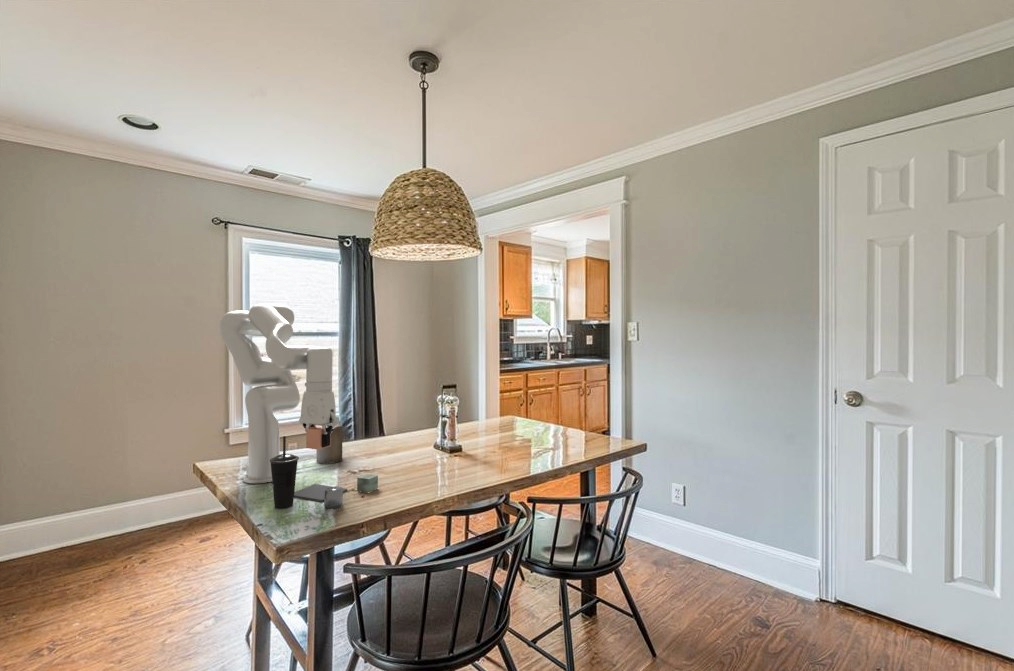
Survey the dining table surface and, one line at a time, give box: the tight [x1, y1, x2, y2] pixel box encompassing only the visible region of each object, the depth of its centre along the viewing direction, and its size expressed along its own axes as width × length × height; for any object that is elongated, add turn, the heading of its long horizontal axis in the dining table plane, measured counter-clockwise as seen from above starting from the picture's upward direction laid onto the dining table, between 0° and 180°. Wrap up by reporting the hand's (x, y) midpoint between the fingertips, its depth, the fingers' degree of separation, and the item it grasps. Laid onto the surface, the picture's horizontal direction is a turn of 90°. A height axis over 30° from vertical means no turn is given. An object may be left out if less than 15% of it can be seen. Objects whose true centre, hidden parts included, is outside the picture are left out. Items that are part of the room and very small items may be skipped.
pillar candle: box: [315, 423, 344, 465], centre depth 188 cm, size 10×10×15 cm
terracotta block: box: [305, 425, 331, 450], centre depth 150 cm, size 5×5×6 cm
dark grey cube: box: [323, 485, 344, 510], centre depth 139 cm, size 5×5×5 cm
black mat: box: [294, 483, 348, 503], centre depth 150 cm, size 13×11×1 cm
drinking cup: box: [270, 435, 300, 510], centre depth 139 cm, size 8×8×20 cm
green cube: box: [356, 473, 379, 493], centre depth 154 cm, size 4×4×4 cm
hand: (318, 444), depth 150 cm, fingers closed on terracotta block, 5 cm apart
